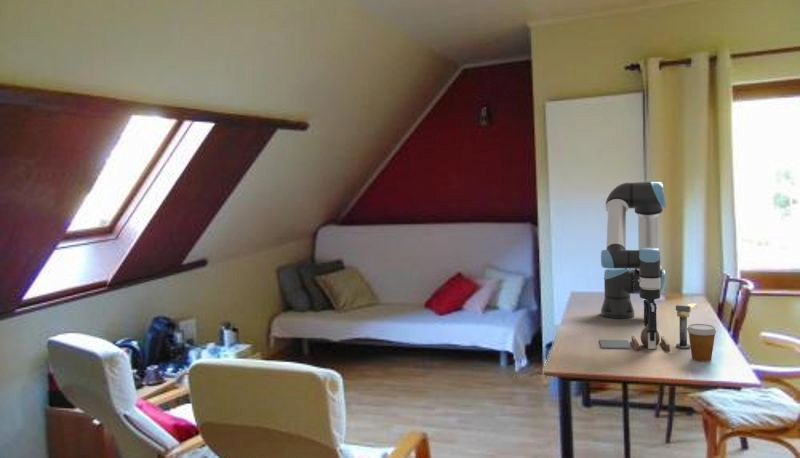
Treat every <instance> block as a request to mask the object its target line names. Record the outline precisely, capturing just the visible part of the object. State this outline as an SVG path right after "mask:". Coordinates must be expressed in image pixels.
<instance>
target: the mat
mask: <svg viewBox="0 0 800 458" xmlns="http://www.w3.org/2000/svg"><path fill="white" fill-rule="evenodd" d="M598 341H599V345H600V347H601V349H603V350H604V349H608V350H632V346H631V344H630V342H629V340H628V339H599V340H598Z"/></svg>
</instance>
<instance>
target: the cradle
mask: <svg viewBox="0 0 800 458" xmlns="http://www.w3.org/2000/svg"><path fill="white" fill-rule="evenodd" d="M631 343H632V345H633V347H634V349H635V351H640V344H639V342H638V340H637V338H636V337H635V335H632V336H631ZM660 343H661V345H662V346H663V348H664V349H665V351H666V352H670V351H671V347H670V343H669V342H668V341H667V339H666V338H665V336H660Z"/></svg>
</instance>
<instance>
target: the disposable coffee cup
mask: <svg viewBox="0 0 800 458" xmlns="http://www.w3.org/2000/svg"><path fill="white" fill-rule="evenodd" d="M687 333H688V339H689V345H690V352H691V353H690V354H691V359H692V360H694V361H697V362H702V361H703V362H706V361H707V362H710V360H711V361H712V357H713V351H714V350H713V349H714V344H715V335H716V333H717V330H716V327H715V326H714V325H712V324H709V323H708V324H707V323H691V324H690V323H689V324H688V325H687Z"/></svg>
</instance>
